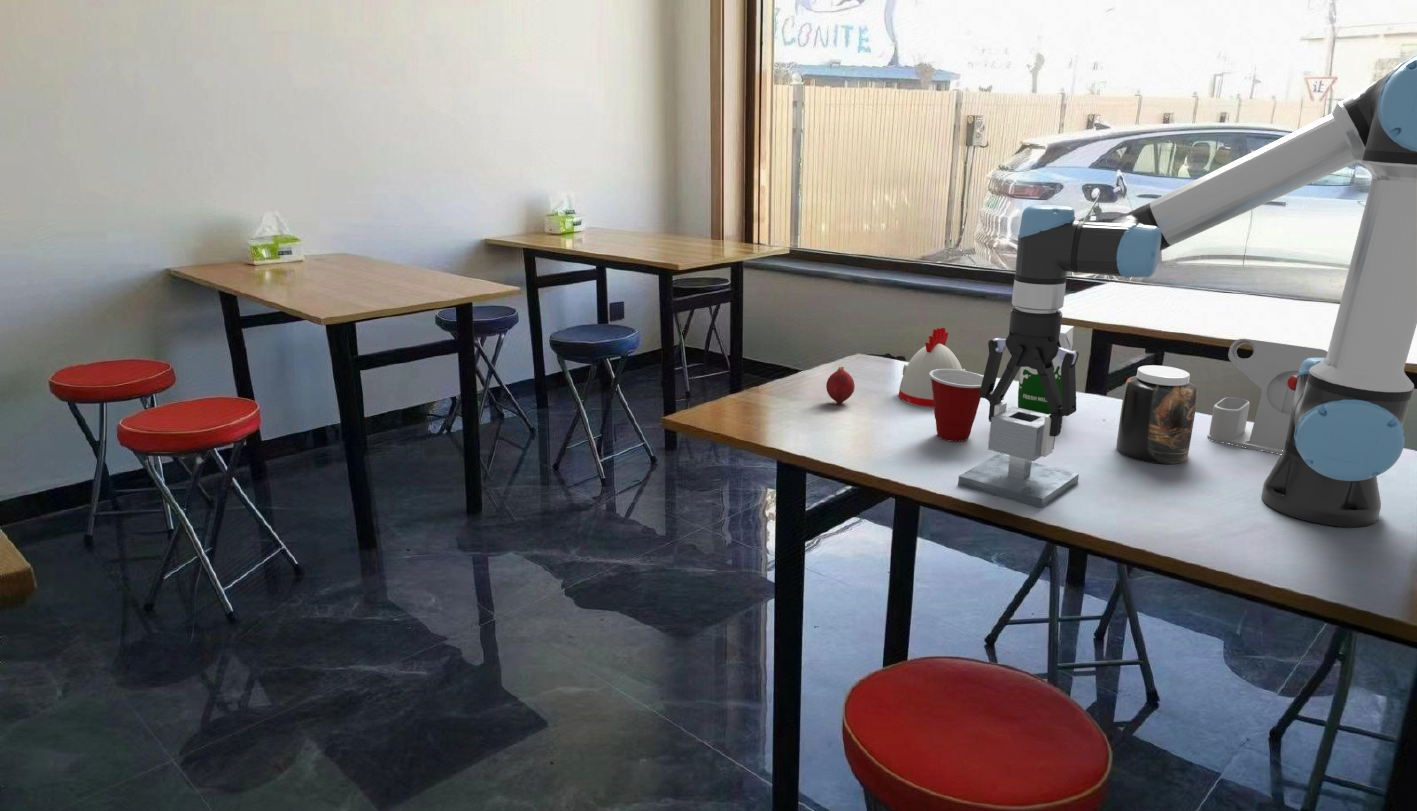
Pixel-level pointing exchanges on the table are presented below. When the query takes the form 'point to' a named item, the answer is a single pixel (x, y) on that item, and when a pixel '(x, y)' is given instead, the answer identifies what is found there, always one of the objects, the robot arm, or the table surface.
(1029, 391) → the milk carton
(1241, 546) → the table surface
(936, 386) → the plastic cup
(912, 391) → the chicken hat
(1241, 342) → the phone holder
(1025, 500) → the stand
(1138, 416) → the jar
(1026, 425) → the block
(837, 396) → the onion
